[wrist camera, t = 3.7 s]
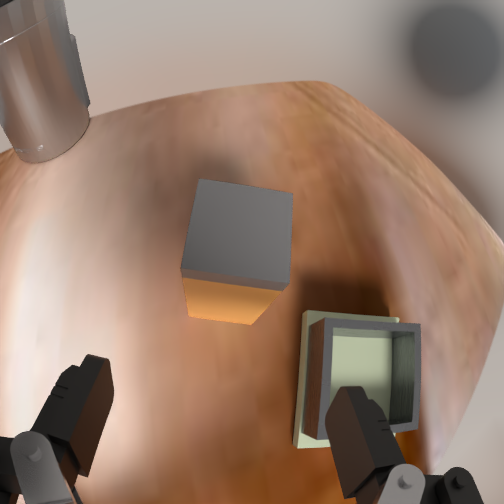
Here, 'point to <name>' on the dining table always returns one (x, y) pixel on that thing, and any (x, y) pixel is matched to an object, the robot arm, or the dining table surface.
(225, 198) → the chute block
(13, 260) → the dining table surface
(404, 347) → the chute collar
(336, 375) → the cream flat slab
